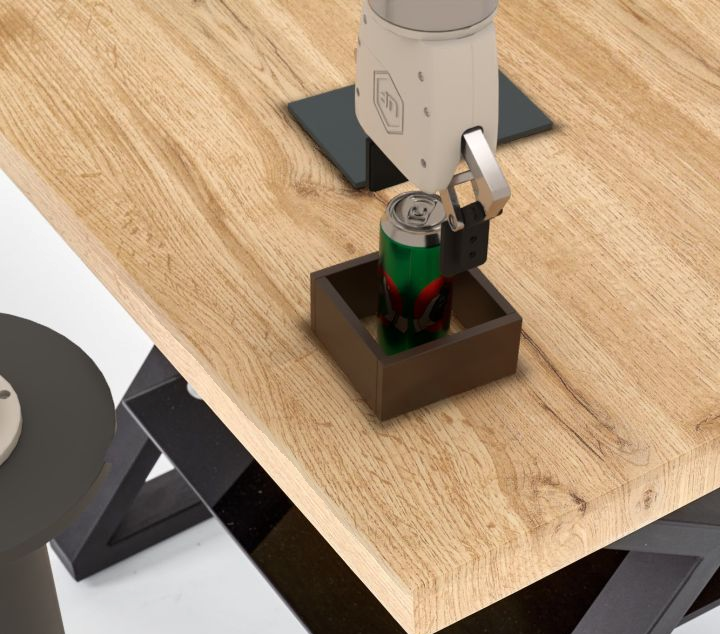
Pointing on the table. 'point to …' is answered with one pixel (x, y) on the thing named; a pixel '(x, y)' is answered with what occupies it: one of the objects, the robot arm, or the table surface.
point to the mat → (348, 140)
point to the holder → (425, 362)
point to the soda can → (412, 274)
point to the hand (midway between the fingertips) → (424, 225)
